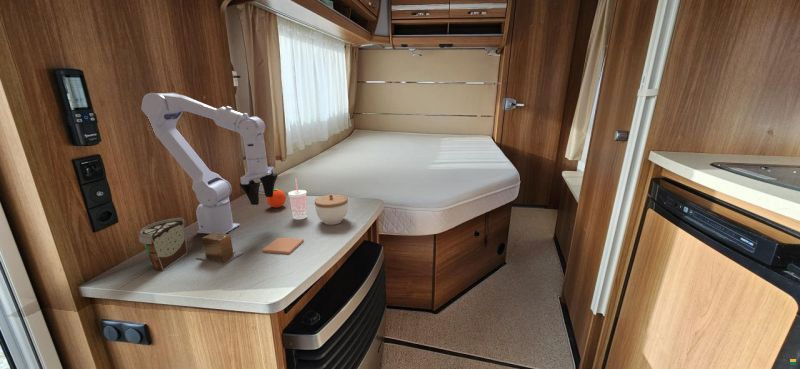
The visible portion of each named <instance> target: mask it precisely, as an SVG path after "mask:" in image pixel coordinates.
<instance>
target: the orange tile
mask: <svg viewBox="0 0 800 369" xmlns="http://www.w3.org/2000/svg"><path fill="white" fill-rule="evenodd" d="M304 242H305V241H304V238H294V237H293V238H291V237H280V236H279V237H277V238H276V239H275V240H273V241H272V242H270V243H269V244H268V245H267V246H265V247H264V248H263V249H262V253H270V254H271V253H272V254H273V253H274V254H284V255H291V253H292V252H294V251H295V250H296V249H297V248H298V247H299V246H300V245H301V244H303V243H304Z"/></svg>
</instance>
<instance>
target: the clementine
mask: <svg viewBox="0 0 800 369" xmlns="http://www.w3.org/2000/svg"><path fill="white" fill-rule="evenodd" d="M265 198H266V202H267V205H269V206H270V207H272V208H275V209H276V208H281V207H282V206H283V205H285V203H286V198H287V196H286V194H285V192H284V191H282V190H281V189H279V188H274V190H273V197H266V196H265Z"/></svg>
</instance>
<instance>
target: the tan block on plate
mask: <svg viewBox="0 0 800 369" xmlns="http://www.w3.org/2000/svg"><path fill="white" fill-rule="evenodd" d="M201 239H202V243H203V244H202V245H203V248H204V252H203V253H202V254H200V255H198V256H196V257H195V259H197V260H200V261H207V262H211V263H212V262H213V263H216V264H222V265H226V264H228V263H230V262H232V261H234V260H235V259H237V258H239V257H241V256H242V255H244V252H242V251H236V250H234V248H233V243H232V237H231V235H230V234H227V233H226V234H220V233H214V232H213V233H211V234H206V235H205V236H203V237H201Z"/></svg>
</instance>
